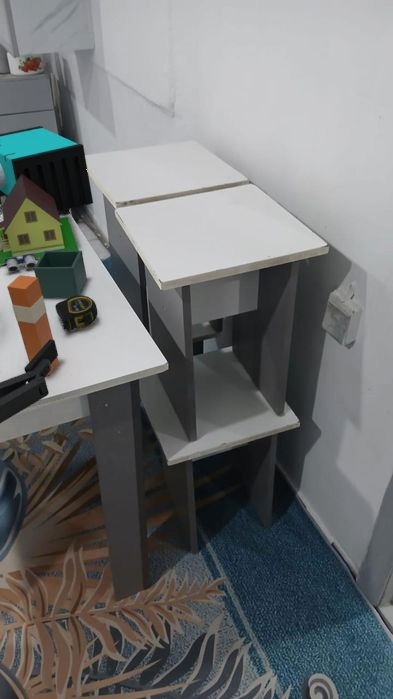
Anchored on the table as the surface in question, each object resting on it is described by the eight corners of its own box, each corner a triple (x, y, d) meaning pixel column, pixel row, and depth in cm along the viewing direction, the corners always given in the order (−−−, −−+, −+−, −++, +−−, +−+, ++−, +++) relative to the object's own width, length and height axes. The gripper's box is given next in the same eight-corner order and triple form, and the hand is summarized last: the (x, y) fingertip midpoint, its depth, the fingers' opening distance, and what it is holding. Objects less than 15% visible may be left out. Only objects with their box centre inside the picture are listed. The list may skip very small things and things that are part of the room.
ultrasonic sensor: (9, 275, 114) (6, 266, 111) (7, 266, 115) (4, 257, 111) (38, 269, 115) (35, 260, 112) (36, 260, 116) (33, 251, 113)
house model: (-7, 266, 114) (-24, 208, 107) (-9, 229, 130) (-24, 177, 122) (79, 251, 118) (68, 195, 111) (67, 217, 134) (57, 166, 126)
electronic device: (-35, 202, 144) (-52, 144, 135) (52, 180, 155) (41, 125, 146) (-1, 232, 127) (-19, 168, 118) (94, 205, 138) (84, 144, 129)
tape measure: (57, 316, 99) (52, 299, 97) (93, 307, 101) (90, 290, 99) (64, 336, 94) (60, 319, 92) (103, 326, 96) (100, 309, 94)
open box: (40, 298, 104) (33, 268, 100) (50, 279, 110) (44, 250, 106) (79, 298, 104) (73, 268, 100) (87, 279, 109) (81, 250, 105)
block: (31, 373, 86) (6, 286, 77) (42, 359, 89) (19, 274, 79) (48, 376, 86) (25, 289, 76) (59, 362, 88) (38, 277, 78)
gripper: (-164, 448, 67) (-53, 347, 83) (10, 493, 60) (94, 374, 76) (-193, 403, 62) (-69, 305, 78) (-8, 447, 56) (86, 331, 72)
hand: (12, 339), depth 77 cm, fingers open, 13 cm apart
